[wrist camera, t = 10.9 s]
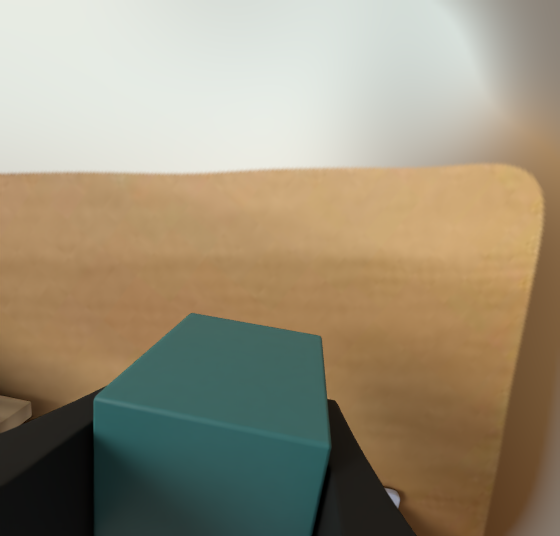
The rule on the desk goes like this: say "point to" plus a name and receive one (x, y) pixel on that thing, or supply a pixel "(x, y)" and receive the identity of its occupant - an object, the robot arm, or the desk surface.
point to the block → (214, 434)
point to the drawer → (13, 412)
